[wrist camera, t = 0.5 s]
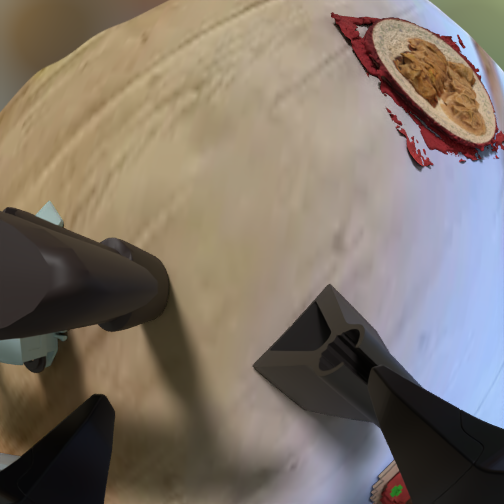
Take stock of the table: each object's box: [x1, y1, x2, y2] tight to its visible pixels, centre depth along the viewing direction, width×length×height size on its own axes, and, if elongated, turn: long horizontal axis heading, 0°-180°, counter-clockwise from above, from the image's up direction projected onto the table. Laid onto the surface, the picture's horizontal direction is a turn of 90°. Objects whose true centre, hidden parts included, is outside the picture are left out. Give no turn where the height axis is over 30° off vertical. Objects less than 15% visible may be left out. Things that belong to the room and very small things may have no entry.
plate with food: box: [331, 12, 504, 166], centre depth 27 cm, size 25×26×4 cm
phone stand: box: [253, 284, 421, 428], centre depth 16 cm, size 9×6×12 cm, turn 136°
